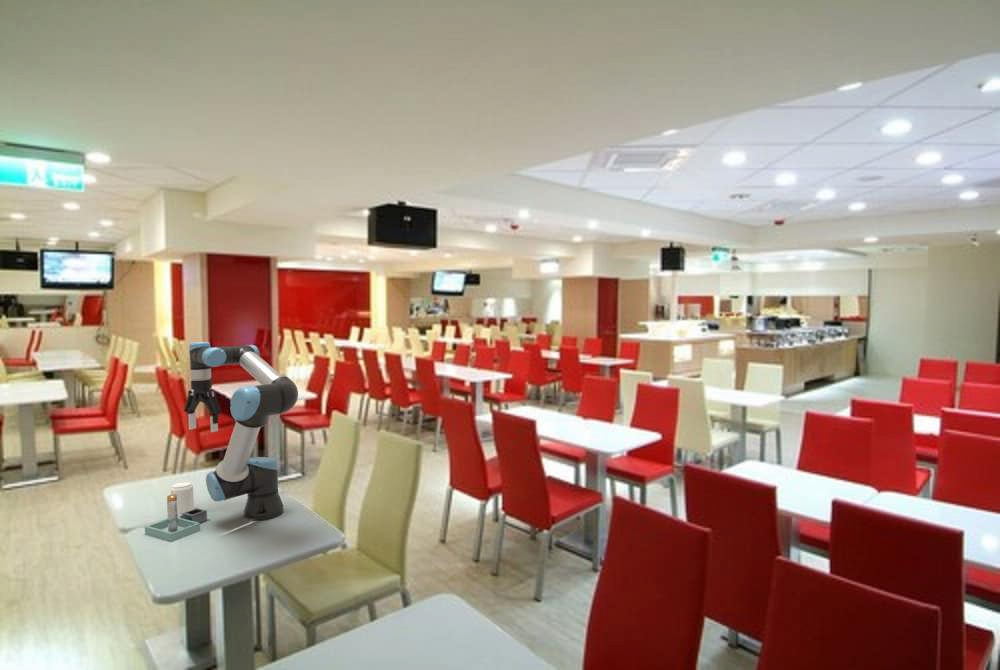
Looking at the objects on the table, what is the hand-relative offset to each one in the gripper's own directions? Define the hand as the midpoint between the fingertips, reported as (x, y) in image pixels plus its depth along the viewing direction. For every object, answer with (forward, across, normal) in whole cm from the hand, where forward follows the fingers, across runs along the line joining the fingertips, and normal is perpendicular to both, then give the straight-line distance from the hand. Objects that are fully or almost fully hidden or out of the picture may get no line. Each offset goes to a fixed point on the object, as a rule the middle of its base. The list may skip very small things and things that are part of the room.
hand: (203, 430), depth 223 cm
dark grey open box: (+35, -6, +10) cm, 37 cm away
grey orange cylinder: (+34, -9, +21) cm, 41 cm away
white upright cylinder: (+35, +9, +4) cm, 36 cm away
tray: (+35, -9, +21) cm, 41 cm away
